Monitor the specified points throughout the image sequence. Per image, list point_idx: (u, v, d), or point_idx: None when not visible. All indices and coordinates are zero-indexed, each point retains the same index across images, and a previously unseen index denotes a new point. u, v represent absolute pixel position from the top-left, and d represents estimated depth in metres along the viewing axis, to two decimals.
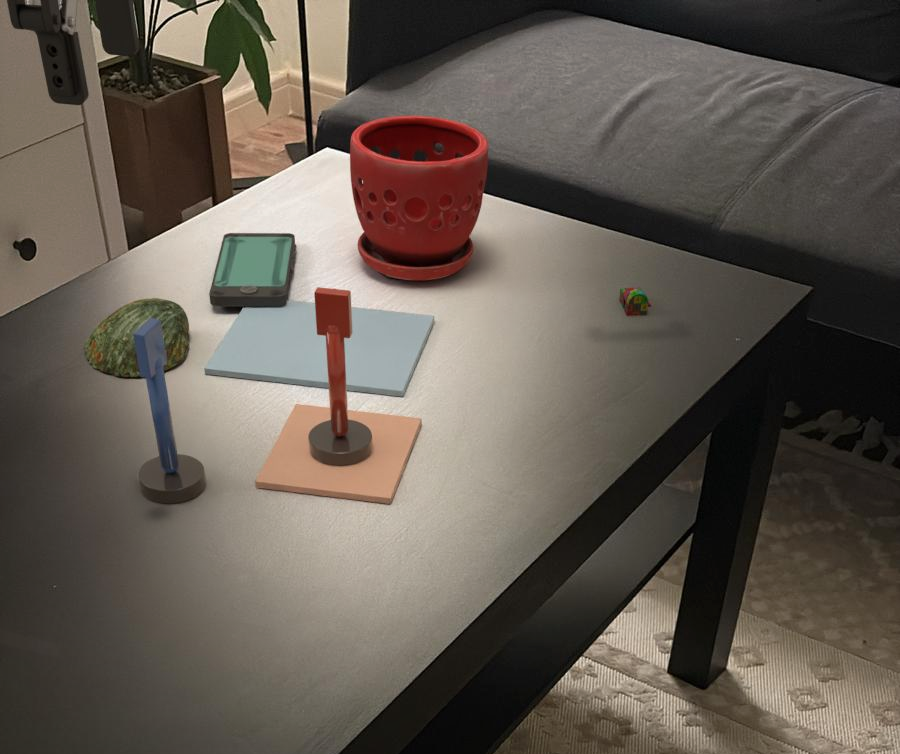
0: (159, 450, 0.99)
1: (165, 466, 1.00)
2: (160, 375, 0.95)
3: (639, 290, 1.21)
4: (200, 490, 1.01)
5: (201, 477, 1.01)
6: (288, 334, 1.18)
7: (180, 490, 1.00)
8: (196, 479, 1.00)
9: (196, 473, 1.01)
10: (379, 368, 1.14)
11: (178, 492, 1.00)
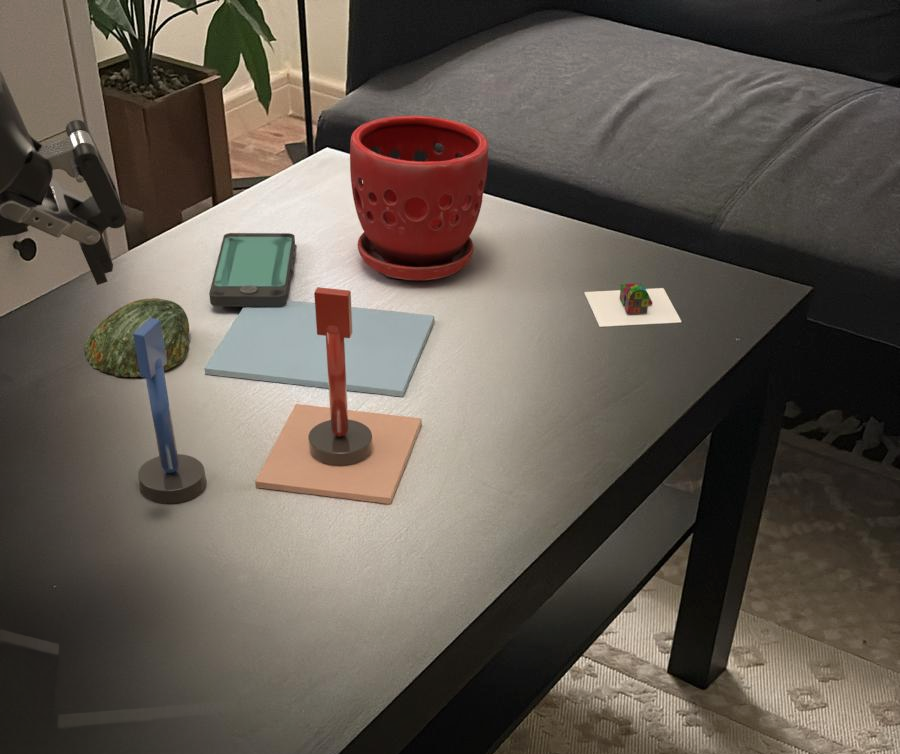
0: (159, 450, 0.99)
1: (165, 466, 1.00)
2: (160, 375, 0.95)
3: (640, 286, 1.21)
4: (200, 490, 1.01)
5: (201, 477, 1.01)
6: (288, 334, 1.18)
7: (180, 490, 1.00)
8: (196, 479, 1.00)
9: (196, 473, 1.01)
10: (379, 368, 1.14)
11: (178, 492, 1.00)
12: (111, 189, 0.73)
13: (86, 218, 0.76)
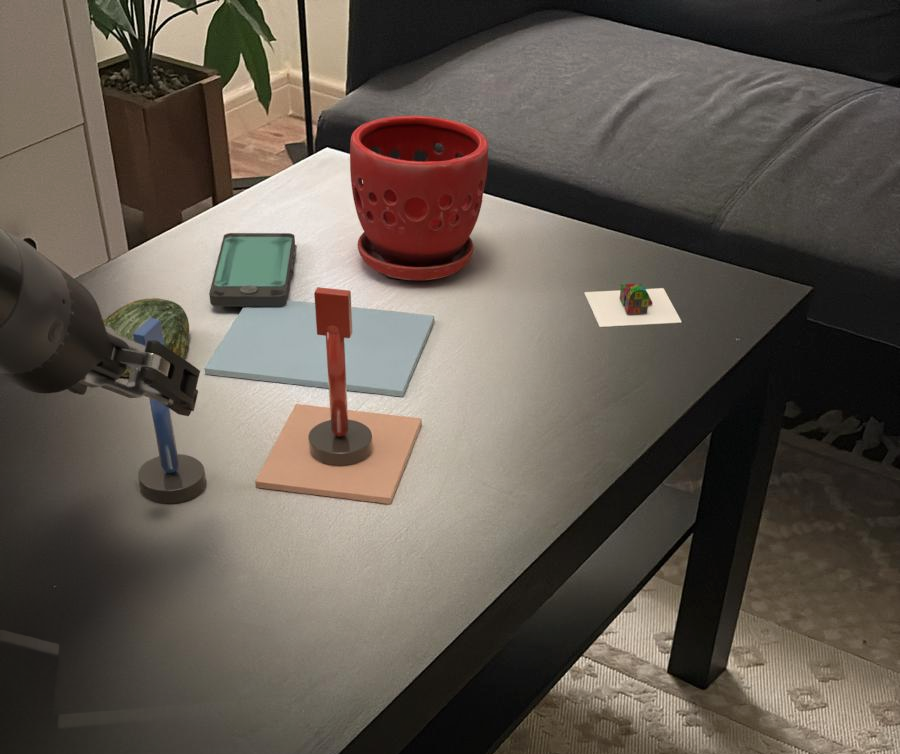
0: (159, 450, 0.99)
1: (165, 466, 1.00)
2: None
3: (640, 286, 1.21)
4: (200, 490, 1.01)
5: (201, 477, 1.01)
6: (288, 334, 1.18)
7: (180, 490, 1.00)
8: (196, 479, 1.00)
9: (196, 473, 1.01)
10: (379, 368, 1.14)
11: (178, 492, 1.00)
12: (173, 394, 0.84)
13: None
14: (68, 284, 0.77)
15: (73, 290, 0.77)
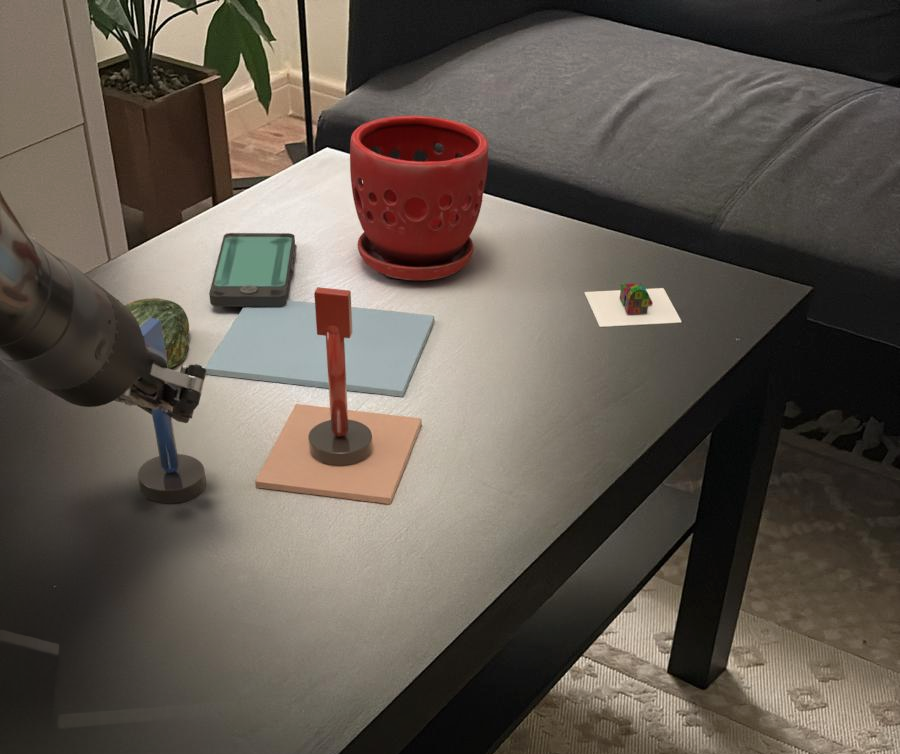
0: (159, 450, 0.99)
1: (165, 466, 1.00)
2: None
3: (640, 286, 1.21)
4: (200, 490, 1.01)
5: (201, 477, 1.01)
6: (288, 334, 1.18)
7: (180, 490, 1.00)
8: (196, 479, 1.00)
9: (196, 473, 1.01)
10: (379, 368, 1.14)
11: (178, 492, 1.00)
12: (193, 409, 0.92)
13: None
14: (113, 305, 0.82)
15: (117, 310, 0.82)
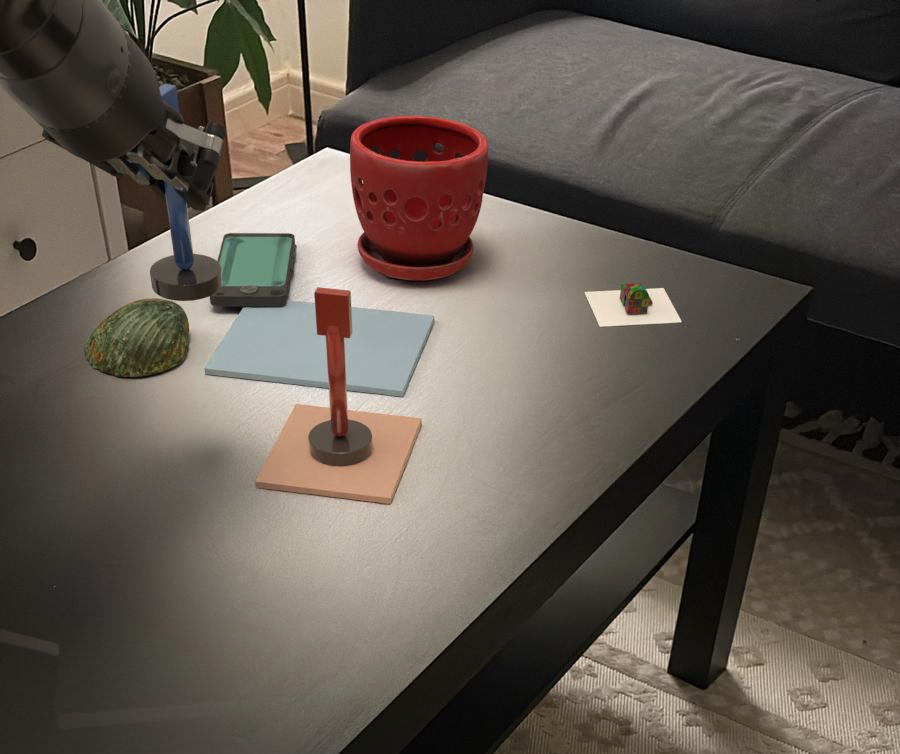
0: (173, 241, 0.92)
1: (179, 261, 0.93)
2: None
3: (640, 286, 1.21)
4: (216, 289, 0.94)
5: (218, 274, 0.94)
6: (288, 334, 1.18)
7: (195, 285, 0.93)
8: (212, 275, 0.94)
9: (212, 270, 0.94)
10: (379, 368, 1.14)
11: (193, 288, 0.93)
12: (211, 179, 0.85)
13: None
14: (126, 36, 0.75)
15: (131, 43, 0.76)
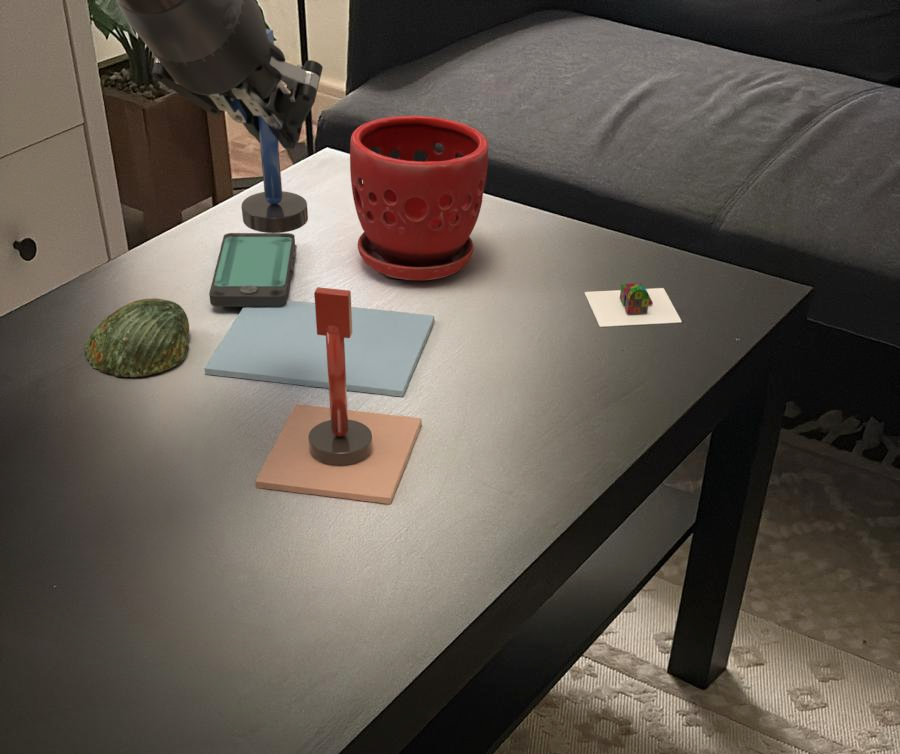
0: (264, 177, 1.00)
1: (269, 196, 1.01)
2: None
3: (640, 286, 1.21)
4: (303, 222, 1.02)
5: (304, 208, 1.01)
6: (288, 334, 1.18)
7: (284, 218, 1.00)
8: (299, 209, 1.01)
9: (299, 205, 1.02)
10: (379, 368, 1.14)
11: (282, 220, 1.00)
12: (306, 114, 0.92)
13: None
14: None
15: None
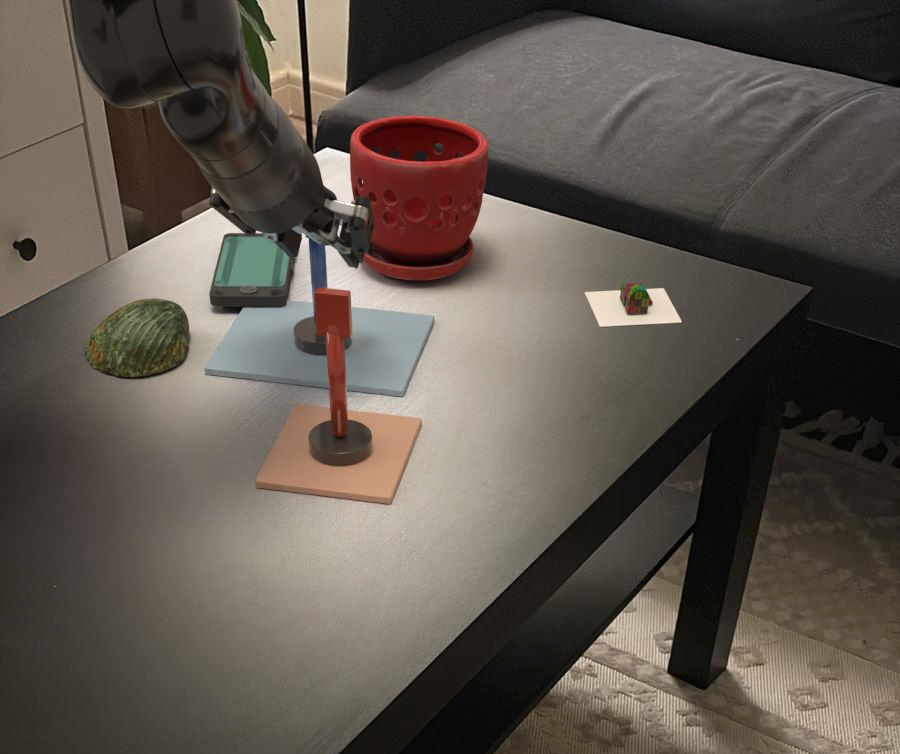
0: (314, 307, 1.14)
1: None
2: None
3: (640, 286, 1.21)
4: (347, 345, 1.16)
5: None
6: (288, 334, 1.18)
7: None
8: None
9: None
10: (379, 368, 1.14)
11: None
12: (365, 241, 1.04)
13: None
14: (301, 138, 0.96)
15: (304, 143, 0.96)
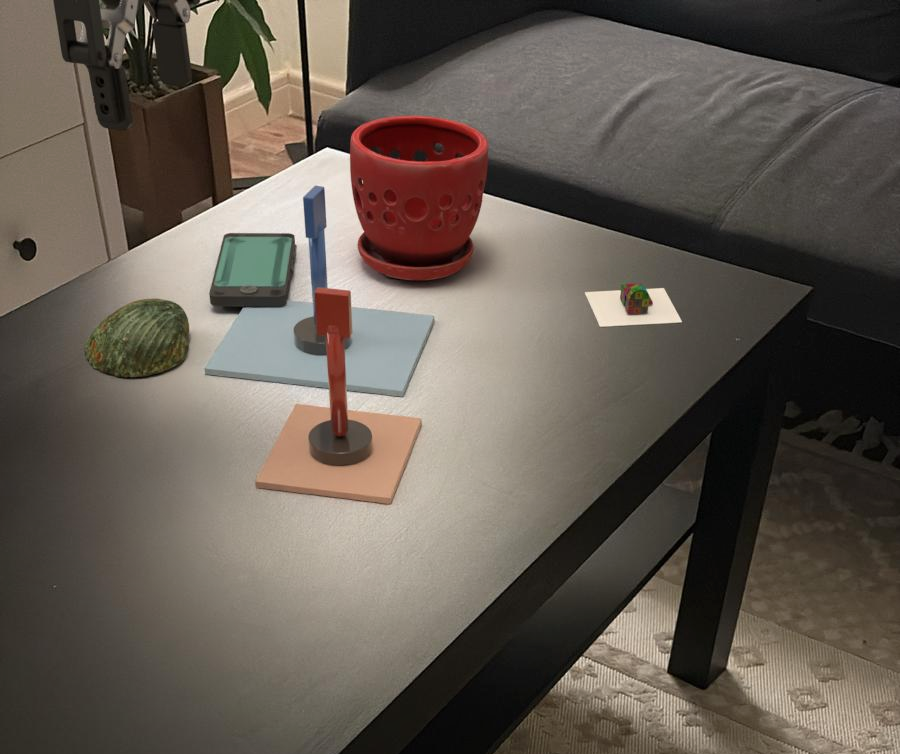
0: (314, 307, 1.14)
1: None
2: (322, 237, 1.09)
3: (640, 286, 1.21)
4: (347, 345, 1.16)
5: None
6: (288, 334, 1.18)
7: None
8: None
9: None
10: (379, 368, 1.14)
11: None
12: None
13: None
14: None
15: None
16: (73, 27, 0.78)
